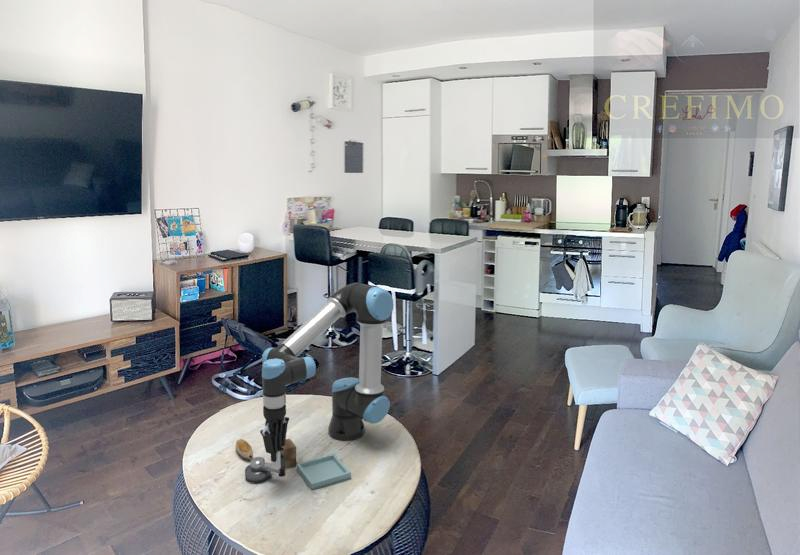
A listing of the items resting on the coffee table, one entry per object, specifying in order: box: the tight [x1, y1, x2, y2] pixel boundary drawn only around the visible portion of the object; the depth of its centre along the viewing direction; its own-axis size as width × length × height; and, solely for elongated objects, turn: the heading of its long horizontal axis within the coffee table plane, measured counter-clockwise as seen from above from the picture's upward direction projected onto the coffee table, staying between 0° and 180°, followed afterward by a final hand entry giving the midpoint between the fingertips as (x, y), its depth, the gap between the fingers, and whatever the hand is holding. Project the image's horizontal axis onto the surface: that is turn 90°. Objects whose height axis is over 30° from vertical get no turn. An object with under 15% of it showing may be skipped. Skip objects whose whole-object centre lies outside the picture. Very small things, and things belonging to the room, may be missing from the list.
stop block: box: [281, 437, 297, 470], centre depth 210 cm, size 5×7×8 cm
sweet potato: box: [235, 438, 254, 461], centre depth 217 cm, size 5×14×4 cm, turn 31°
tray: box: [295, 453, 352, 491], centre depth 204 cm, size 15×15×2 cm
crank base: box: [244, 464, 272, 485], centre depth 202 cm, size 10×9×3 cm
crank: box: [249, 453, 286, 478], centre depth 199 cm, size 14×5×8 cm, turn 69°
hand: (276, 468), depth 195 cm, fingers closed
